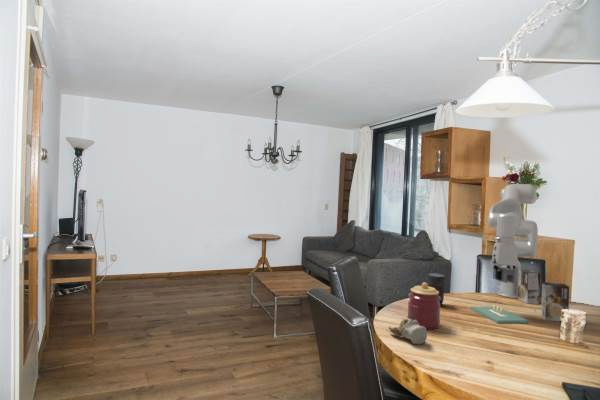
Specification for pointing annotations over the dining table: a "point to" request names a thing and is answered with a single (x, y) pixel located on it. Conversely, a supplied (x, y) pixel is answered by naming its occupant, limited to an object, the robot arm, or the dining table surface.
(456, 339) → the dining table surface
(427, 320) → the canister
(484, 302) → the dining table surface
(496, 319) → the header board
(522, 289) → the coffee box
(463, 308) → the dining table surface
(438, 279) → the camera lens
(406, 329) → the ceramic sculpture
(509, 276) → the block
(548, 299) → the coffee box
